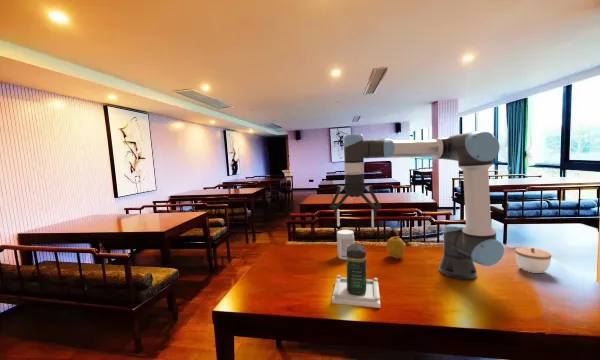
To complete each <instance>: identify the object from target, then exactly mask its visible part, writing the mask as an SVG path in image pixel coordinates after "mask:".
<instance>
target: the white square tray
mask: <svg viewBox="0 0 600 360" xmlns="http://www.w3.org/2000/svg"><path fill="white" fill-rule="evenodd" d="M378 281H379V278H377V277H373V279H369V278H368V279H367V278H366V293H365V294H362V295H353V294H351V293H348V291H347V277H342V276H341V275H340V274H338V275H336V279H335V285H334V289H333V293H331V294H332V297H331V304H338V305H346V306H356V307H367V308H379V309H380V308H381V296H380V289H379V282H378Z"/></svg>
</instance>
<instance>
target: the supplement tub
mask: <svg viewBox="0 0 600 360" xmlns="http://www.w3.org/2000/svg"><path fill="white" fill-rule="evenodd" d="M354 234H355V233H354V231H353V230H352V229H351V230H350V229H341V230H340V229H339V230H338V231H337V232H336V243H337V244H336V245H337V247H336V249H337V257H338V259H340V260H344V261H347V252H346V251H347V248H348V246H350V245H352V244H355V235H354Z"/></svg>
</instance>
